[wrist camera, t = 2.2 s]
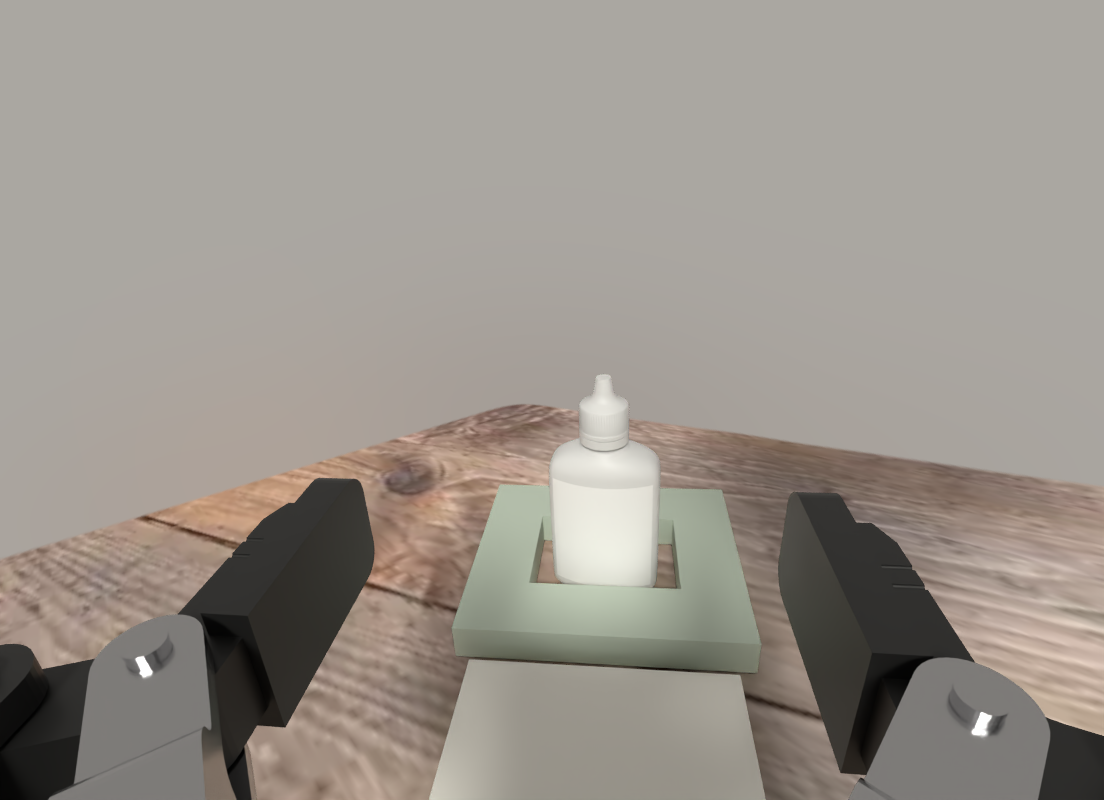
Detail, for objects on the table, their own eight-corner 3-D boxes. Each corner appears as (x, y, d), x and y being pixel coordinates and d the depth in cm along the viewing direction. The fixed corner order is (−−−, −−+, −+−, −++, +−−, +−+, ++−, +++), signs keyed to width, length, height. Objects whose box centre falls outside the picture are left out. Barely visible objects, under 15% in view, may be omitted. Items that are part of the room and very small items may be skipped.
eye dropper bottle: (625, 622, 30) (626, 409, 25) (542, 575, 33) (528, 379, 28) (670, 575, 33) (680, 375, 28) (589, 535, 36) (584, 351, 31)
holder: (719, 513, 38) (721, 489, 37) (757, 673, 27) (761, 644, 26) (502, 507, 39) (500, 484, 39) (455, 655, 29) (451, 628, 28)
